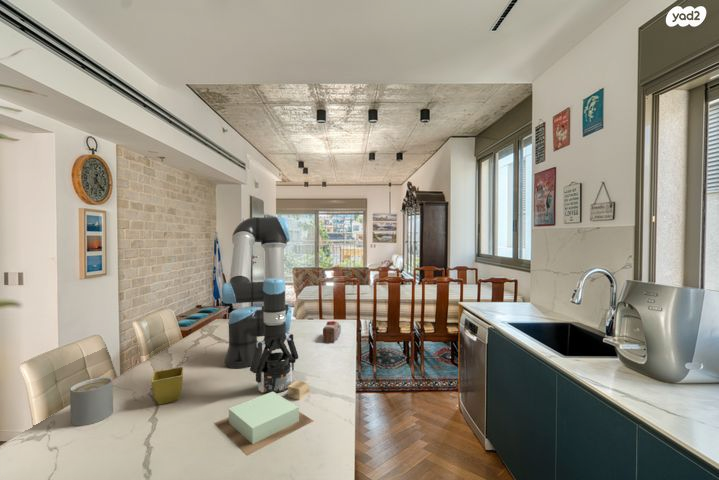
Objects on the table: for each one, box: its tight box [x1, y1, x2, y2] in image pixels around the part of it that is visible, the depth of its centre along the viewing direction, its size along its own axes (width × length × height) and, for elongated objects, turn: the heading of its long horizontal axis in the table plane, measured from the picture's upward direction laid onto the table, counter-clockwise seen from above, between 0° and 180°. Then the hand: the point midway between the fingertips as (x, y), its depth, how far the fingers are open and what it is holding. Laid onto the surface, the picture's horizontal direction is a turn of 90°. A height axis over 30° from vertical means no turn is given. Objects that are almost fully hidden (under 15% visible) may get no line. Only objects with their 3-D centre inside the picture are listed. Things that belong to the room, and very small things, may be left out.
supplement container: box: [262, 352, 292, 394], centre depth 113 cm, size 10×10×12 cm
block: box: [287, 380, 310, 401], centre depth 107 cm, size 5×5×5 cm
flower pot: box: [150, 366, 184, 405], centre depth 108 cm, size 9×9×9 cm
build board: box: [213, 411, 314, 456], centre depth 91 cm, size 20×20×2 cm
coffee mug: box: [69, 376, 114, 427], centre depth 100 cm, size 13×10×10 cm
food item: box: [322, 320, 342, 344], centre depth 171 cm, size 14×8×10 cm, turn 173°
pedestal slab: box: [228, 392, 300, 444], centre depth 91 cm, size 14×14×4 cm
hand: (275, 385), depth 113 cm, fingers closed on supplement container, 10 cm apart
